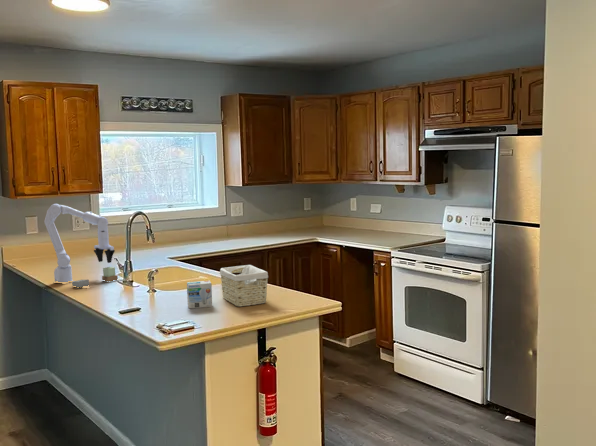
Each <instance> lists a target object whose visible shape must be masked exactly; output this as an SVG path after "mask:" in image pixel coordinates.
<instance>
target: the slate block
mask: <svg viewBox="0 0 596 446" xmlns="http://www.w3.org/2000/svg"><path fill="white" fill-rule="evenodd" d="M72 281H73V282H72V283H71V285H72V287H73V286H76V287H83V286H88V285H89V286H90V280H89V279H79V280H72Z"/></svg>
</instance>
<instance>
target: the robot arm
mask: <svg viewBox="0 0 596 446" xmlns="http://www.w3.org/2000/svg"><path fill="white" fill-rule="evenodd" d="M61 214H62V215H66V214H69V215H71V216H75V217H79V218H81V219H82V220H83V222H86V223H88V224H91V225H94V226H97V242H98V243H97V244H95V245H93V248H94V249H93V252H94V253H95V255H96V258H97V260H98V262H99V263H101V262H103V258H104V257H103V256H104V253H105V256H106V261H107V263H108V264H109V263H110V264H111V263H112V261H113V256H114V253H115V252H116V250H115V247H114V246H113V245H111V244H110V237H109V226H108V225H109V222H108V218H106V217H105V216H101V214H95V213H93V211H85V212H83V211H80V210H79V209H75V208H73V207H70V206H68V205H65V204H59V203H53V204H51V205H50V206H49V208H48V209H47V210H46V215H45V218H44V222H43V223H44V225H45V227H46V231H47V233H48V236H49V238H50V241H51V243H52V246H53V249H54V251H55V254H56V258H57V261H56V262H57V267H56V268H55V269H54V271H53V276H54V282H55V281H58V282H68V281H73V273H72V272H73V269H72V265H71V264H70V263H71V257H70V255H69V254H68V253H67V251H66V250H65V247H64V244H63V242H62V239H61V237H60V234H59V231H58V229H57V227H56V224H55V221H56V220H57V217H59V216H60V215H61Z"/></svg>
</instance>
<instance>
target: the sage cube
mask: <svg viewBox="0 0 596 446" xmlns="http://www.w3.org/2000/svg"><path fill="white" fill-rule="evenodd" d="M102 272H103V273H102V274H103V275H102V276H106V277H110V276H115V275H116V268H115V266H107V267H103V268H102Z"/></svg>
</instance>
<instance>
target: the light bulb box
mask: <svg viewBox="0 0 596 446" xmlns="http://www.w3.org/2000/svg"><path fill="white" fill-rule="evenodd" d="M212 289H213V288H212V282H211V280H199V281H188V282H186V290H187V291H186V292H187V293H186V294H187V297H186V298H187V306H188V309H199V308H209V307H210V308H211V307H213V290H212Z"/></svg>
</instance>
